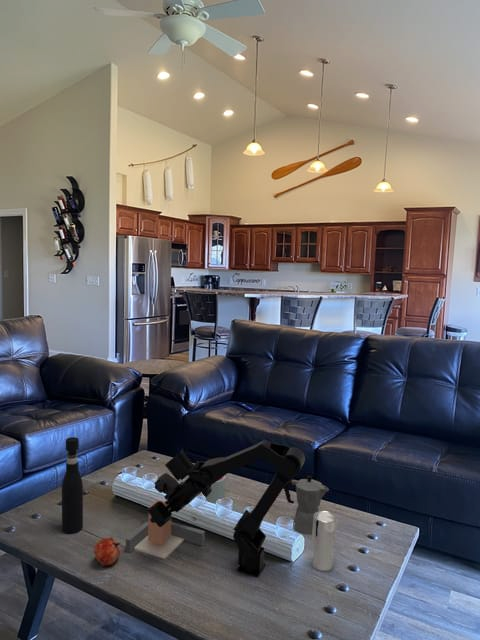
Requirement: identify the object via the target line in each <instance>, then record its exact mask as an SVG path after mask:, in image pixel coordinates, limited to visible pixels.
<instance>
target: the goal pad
mask: <svg viewBox="0 0 480 640" xmlns="http://www.w3.org/2000/svg"><path fill="white" fill-rule="evenodd" d="M183 542H185V541H184V539H183V538H180V537H176V536H173V535H171V537H170V538H169V539H168V540H167V541H166V542H165V543H164V544H162V545H161V544H157V543H154V542H151V541H148V536H147V537H146V538H145V539H143V540H142V541H141V542H140V543H139V544H138V545H136V546H135V547H134V550H135V551H138V552H141V553H143V554H147V555H150V556H153V557H156V558H161V559H163V560H166V559H167V558H168V557H169V556H170V555H171V554H172V553H173V552H174V551H175V550H176V549H177V548H178V547H179V546H181V544H182V543H183ZM134 550H133V551H134Z"/></svg>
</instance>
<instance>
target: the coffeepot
mask: <svg viewBox="0 0 480 640" xmlns="http://www.w3.org/2000/svg"><path fill="white" fill-rule="evenodd" d="M289 486H292V487H295V492H296V502H297V507H296V510H295V511H296V512H295V516H294V519H293V523H295V528H294V530H295V531H296V532H298V531H299V532H298V533H300V534H304V535H312V526H313V518H314V514H315V513H316V512H318V511H319V506H321V500H322V499H323V497H324V495H325V494H326V493H327V492H330V491H329V490H330V489H329V487H327V486H325V485H324V484H323V483H322V482H320V481H318V480H315V479H313V477H312V475H307V476H306V478H301V479H299V480H296V479H292V480H291V481H290V482H288V483H287V484H286V485H285V486H284V488H283V490H284V494H285V499H286V501H287V503H289V504H292V505H293V504H294V503H295V501H294V500H292V499H291V494H290V493H291V492H290V488H289Z"/></svg>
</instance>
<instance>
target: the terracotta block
mask: <svg viewBox="0 0 480 640" xmlns="http://www.w3.org/2000/svg"><path fill="white" fill-rule="evenodd" d="M158 501H160V502H163V504H164V505H165V507H166V506H167V505H169V504H167V505H166V504H165V502H166V501H167V500H166V501H164V500H162V499H156V500H155V501H153V502H152V503H151V504H150V505H148V509H149V508H150V507H152V506H153V505H154V504H155V503H157V502H158ZM169 509H171V507H170V508H169ZM169 509H168V510H169ZM147 512H148V511H147ZM147 518H148V519H147V520H148V541H151V542H154V543H157V544H161V545H162V544H164V543H165V542H166V541H167V540H168V539H169V538H170V537H171V522H172V518H171V519H170V520H169V521H168V522H167V523H166V524H164V525H163V526H162V527H159V526H158V525H157V524H156V523H152V522H151V521H150V519H151V518H152V516H151V515H150V514H149V512H148V517H147Z"/></svg>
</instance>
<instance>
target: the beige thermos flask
mask: <svg viewBox="0 0 480 640" xmlns="http://www.w3.org/2000/svg"><path fill="white" fill-rule="evenodd" d="M311 536H312V545H313V557H312V560H311V565H312V567H313V568H314V569H316V570H317V571H320V572H328V571H331V570H332V569H333V567H334V564H333V563H334V562H333V551H334V548H335V547H334V546H335V543H336V538H337V516H336V514H334V513H333V512H330V511H327V510H320V511H319V510H318V512H316V513H315V514H314V518H313V526H312V534H311Z"/></svg>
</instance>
